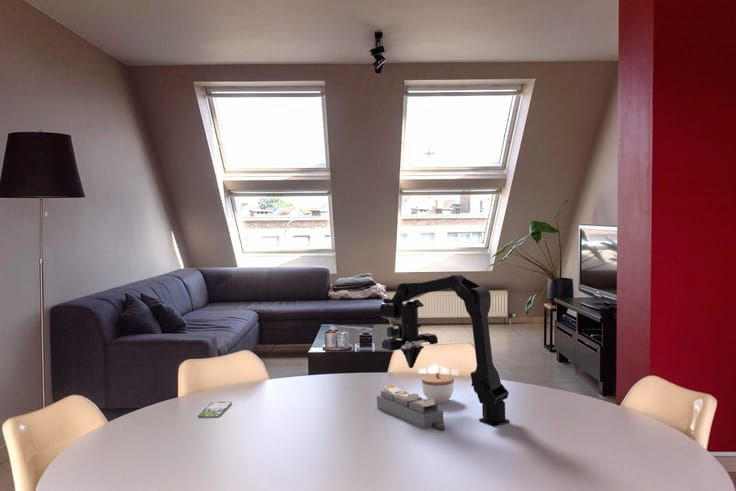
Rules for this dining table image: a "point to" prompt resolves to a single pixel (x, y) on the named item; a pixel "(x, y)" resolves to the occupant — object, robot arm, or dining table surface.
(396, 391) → the block
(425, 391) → the lidded jar
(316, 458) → the dining table surface
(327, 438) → the dining table surface
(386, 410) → the rocker switch panel
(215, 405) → the smartphone
